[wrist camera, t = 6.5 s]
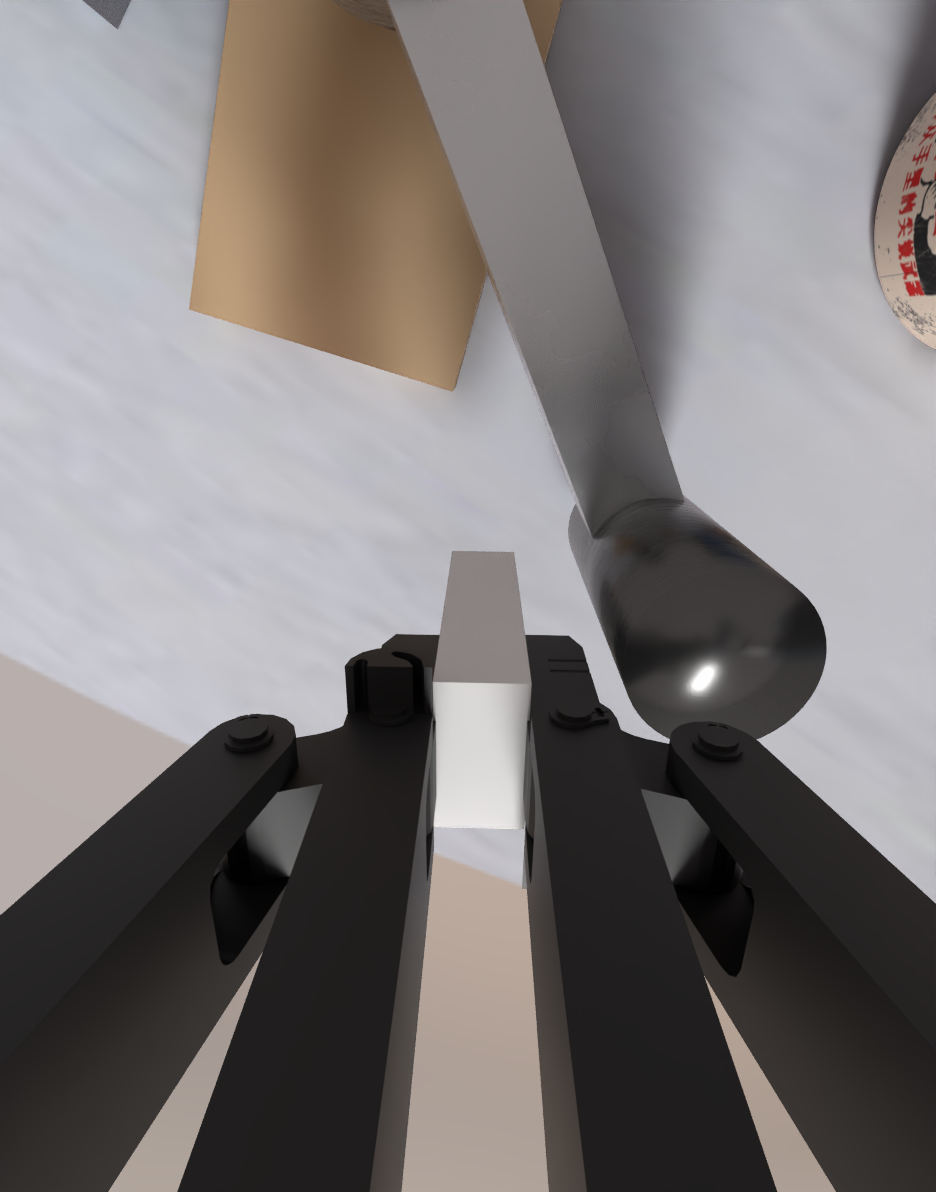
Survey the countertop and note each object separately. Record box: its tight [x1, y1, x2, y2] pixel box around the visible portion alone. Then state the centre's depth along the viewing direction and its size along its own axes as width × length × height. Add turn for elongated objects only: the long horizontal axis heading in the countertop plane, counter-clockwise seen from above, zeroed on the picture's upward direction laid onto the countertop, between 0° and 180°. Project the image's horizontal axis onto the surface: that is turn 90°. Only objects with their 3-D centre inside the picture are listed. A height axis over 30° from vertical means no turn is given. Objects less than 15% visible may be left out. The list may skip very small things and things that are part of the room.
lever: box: [333, 0, 826, 739], centre depth 12 cm, size 28×5×9 cm, turn 23°
